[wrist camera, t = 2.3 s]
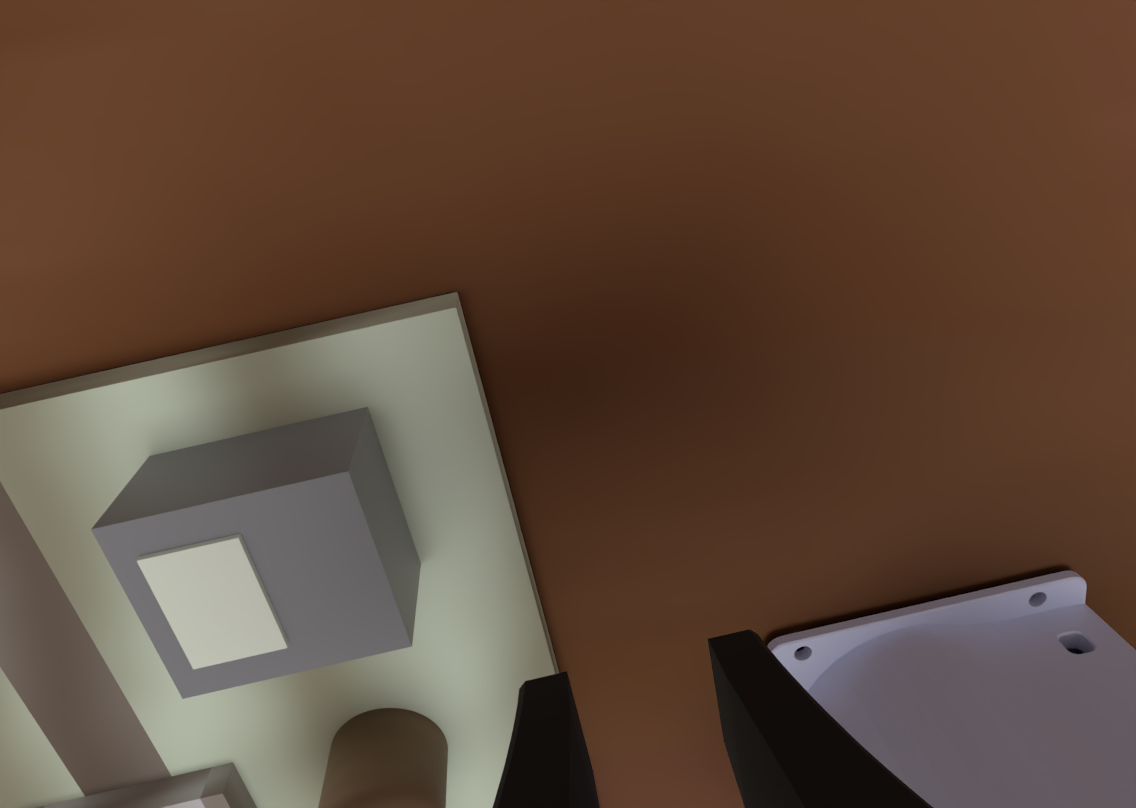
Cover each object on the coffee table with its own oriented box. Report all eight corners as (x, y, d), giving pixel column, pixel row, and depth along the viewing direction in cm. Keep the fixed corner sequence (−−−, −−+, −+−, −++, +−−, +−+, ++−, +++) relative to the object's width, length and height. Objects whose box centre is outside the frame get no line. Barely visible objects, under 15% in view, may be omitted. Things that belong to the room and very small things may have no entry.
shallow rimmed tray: (457, 291, 18) (454, 321, 16) (609, 858, 27) (619, 923, 25) (-233, 446, 18) (-319, 495, 16) (138, 967, 27) (111, 1042, 25)
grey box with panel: (367, 407, 18) (346, 475, 15) (421, 563, 20) (411, 650, 17) (149, 455, 18) (87, 534, 15) (223, 609, 20) (180, 704, 17)
